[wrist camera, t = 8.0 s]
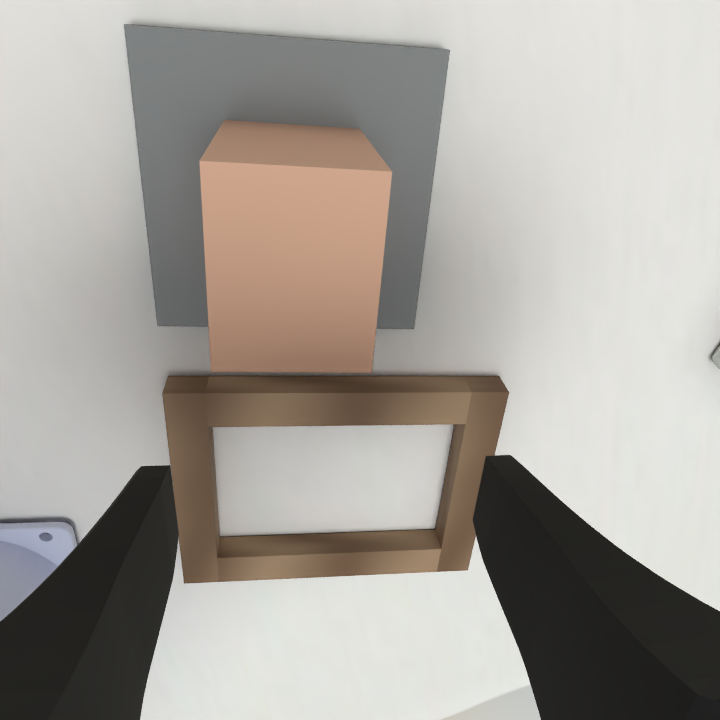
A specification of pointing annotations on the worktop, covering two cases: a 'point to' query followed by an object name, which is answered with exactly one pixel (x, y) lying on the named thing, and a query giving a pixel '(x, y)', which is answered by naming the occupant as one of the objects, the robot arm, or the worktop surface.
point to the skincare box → (716, 357)
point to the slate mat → (285, 106)
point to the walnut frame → (327, 408)
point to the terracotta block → (293, 247)
